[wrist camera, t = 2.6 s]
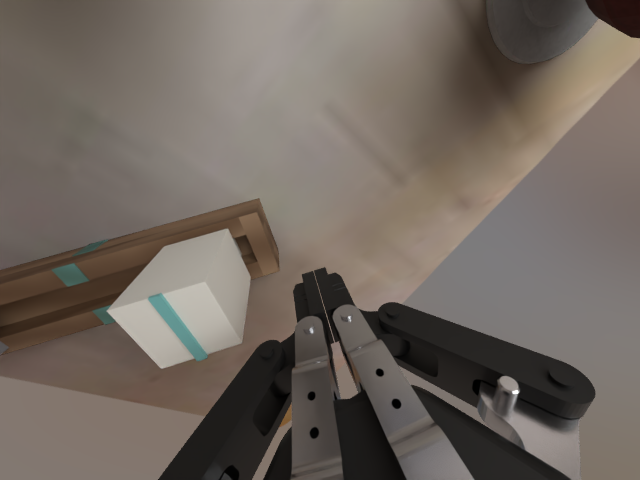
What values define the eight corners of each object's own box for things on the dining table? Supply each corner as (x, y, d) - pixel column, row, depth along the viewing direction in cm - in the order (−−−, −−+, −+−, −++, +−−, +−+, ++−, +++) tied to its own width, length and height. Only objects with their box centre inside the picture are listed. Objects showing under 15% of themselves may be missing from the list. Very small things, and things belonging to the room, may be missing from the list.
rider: (173, 234, 19) (102, 312, 11) (231, 217, 20) (203, 282, 11) (202, 280, 22) (161, 373, 14) (253, 265, 22) (242, 346, 14)
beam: (-79, 291, 20) (-276, 382, 13) (258, 197, 22) (252, 231, 15) (-14, 337, 22) (-143, 432, 15) (278, 251, 24) (281, 301, 17)
